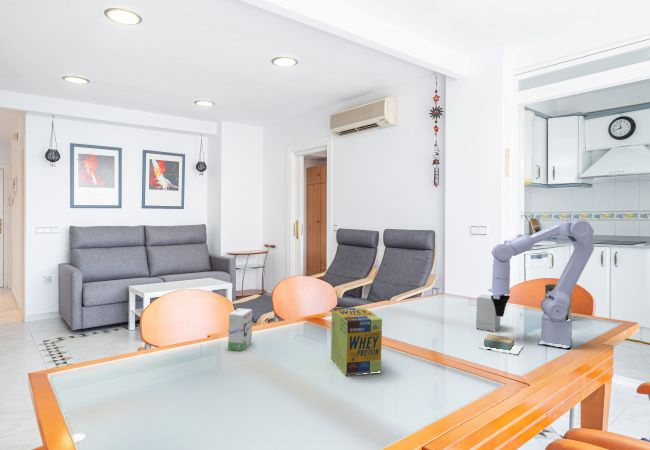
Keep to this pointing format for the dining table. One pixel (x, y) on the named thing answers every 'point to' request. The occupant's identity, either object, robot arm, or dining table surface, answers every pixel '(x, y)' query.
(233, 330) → the ink box
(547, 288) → the coffee can
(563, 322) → the robot arm
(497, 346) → the slab
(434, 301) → the dining table surface
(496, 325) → the supplement box
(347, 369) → the protein box
